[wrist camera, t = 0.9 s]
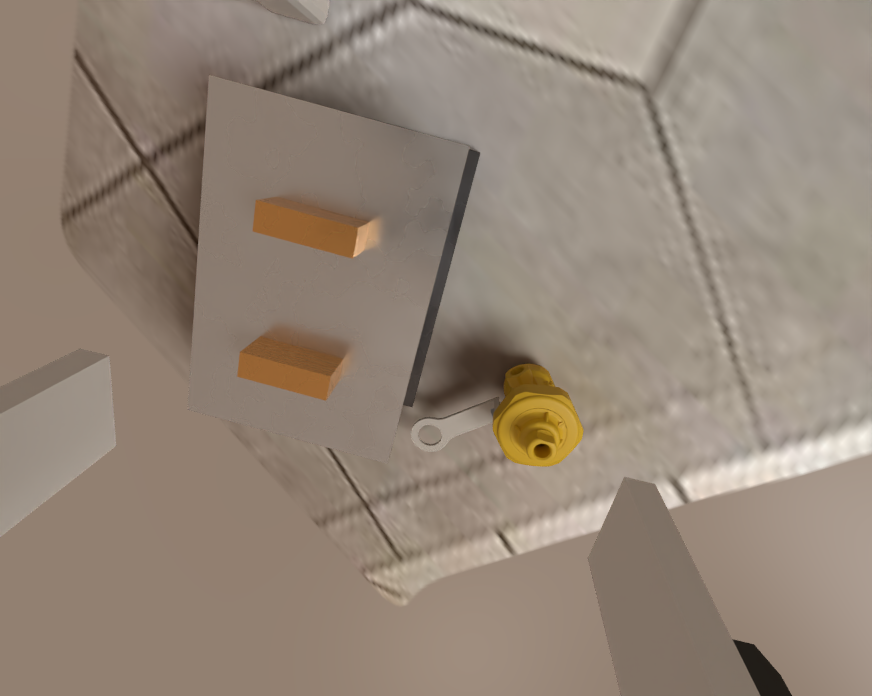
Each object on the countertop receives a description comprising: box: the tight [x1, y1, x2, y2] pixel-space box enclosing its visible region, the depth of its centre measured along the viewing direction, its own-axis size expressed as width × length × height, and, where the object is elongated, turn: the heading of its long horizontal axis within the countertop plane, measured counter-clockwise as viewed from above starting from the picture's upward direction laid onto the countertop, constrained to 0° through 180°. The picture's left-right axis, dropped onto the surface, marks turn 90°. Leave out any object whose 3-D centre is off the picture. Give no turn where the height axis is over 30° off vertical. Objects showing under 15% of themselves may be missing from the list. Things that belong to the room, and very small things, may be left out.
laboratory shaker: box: [188, 75, 480, 464], centre depth 29 cm, size 19×14×11 cm
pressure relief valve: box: [411, 364, 583, 466], centre depth 33 cm, size 6×12×10 cm, turn 116°
